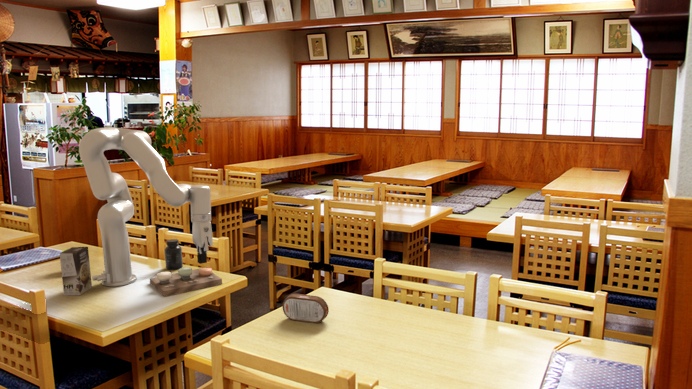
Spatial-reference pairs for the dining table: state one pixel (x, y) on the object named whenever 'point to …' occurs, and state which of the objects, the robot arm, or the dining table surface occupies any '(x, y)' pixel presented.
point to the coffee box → (75, 270)
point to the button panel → (185, 283)
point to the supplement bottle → (173, 255)
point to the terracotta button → (205, 271)
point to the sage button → (185, 273)
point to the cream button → (164, 277)
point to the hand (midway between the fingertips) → (202, 262)
